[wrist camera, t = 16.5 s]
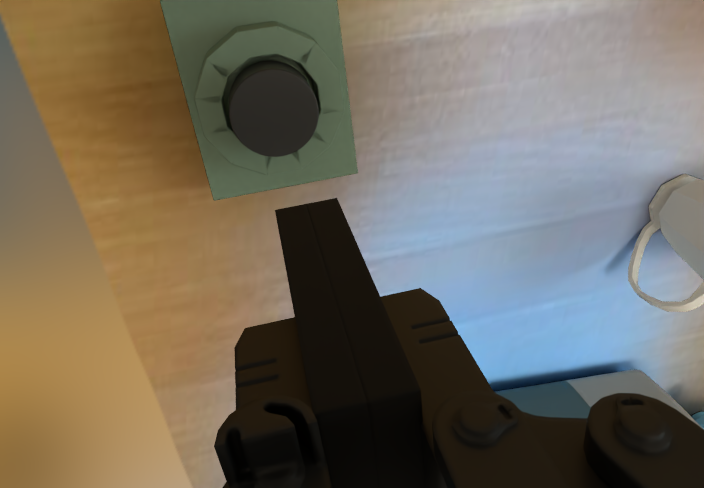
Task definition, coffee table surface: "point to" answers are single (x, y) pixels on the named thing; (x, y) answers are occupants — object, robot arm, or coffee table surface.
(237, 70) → the button box
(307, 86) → the button
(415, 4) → the coffee table surface
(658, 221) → the cup
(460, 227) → the coffee table surface
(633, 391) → the white and blue toaster
